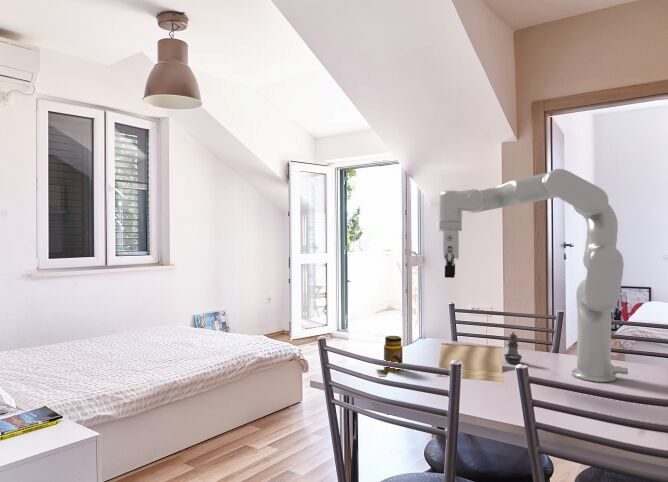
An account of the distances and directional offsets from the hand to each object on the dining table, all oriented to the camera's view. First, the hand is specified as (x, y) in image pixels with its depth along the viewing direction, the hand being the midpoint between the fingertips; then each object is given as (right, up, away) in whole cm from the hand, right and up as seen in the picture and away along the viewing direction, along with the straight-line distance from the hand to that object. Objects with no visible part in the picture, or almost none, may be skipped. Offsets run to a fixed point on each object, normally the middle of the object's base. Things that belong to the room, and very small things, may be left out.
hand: (450, 276), depth 170 cm
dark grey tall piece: (+22, -31, 0) cm, 38 cm away
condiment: (-22, -31, -9) cm, 39 cm away
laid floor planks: (+3, -31, -14) cm, 35 cm away
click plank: (+6, -28, -4) cm, 29 cm away
